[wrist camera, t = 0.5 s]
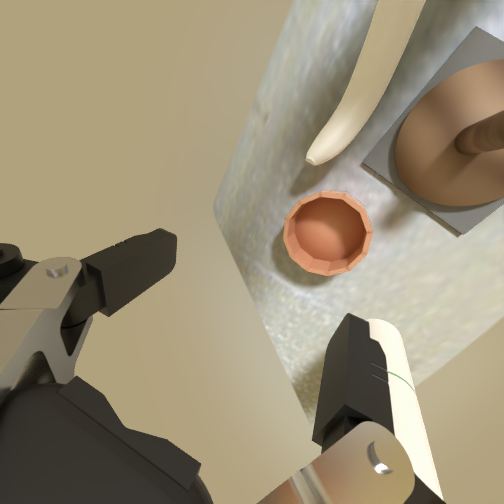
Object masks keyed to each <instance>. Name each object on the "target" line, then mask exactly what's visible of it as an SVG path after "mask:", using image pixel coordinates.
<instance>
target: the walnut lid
mask: <svg viewBox="0 0 504 504" xmlns="http://www.w3.org/2000/svg"><path fill="white" fill-rule="evenodd" d="M395 164H396V168H397V171H398V174H399V176H400V178H401V180H402V181H403V183H404V184H405V185H406V186H407V188H408V189H409V190H411V191H412V192H413V193H414V194H416V195H417V196H419V197H421V198H423V199H425V200H427V201H430V202H433V203H436V204H440V205H446V206H471V205H478V204H483V203H487V202H491V201H494V200H496V199H499V198H502V197H504V59H499V60H492V61H487V62H483V63H479V64H476V65H473V66H470V67H467V68H465V69H463V70H461V71H459V72H456V73H454V74H453V75H451V76H449V77H448V78H446V79H444V80H443V81H441V82H440V83H439V84H437V85H436V86H434V87H433V88H432V89H431V90H430V91H429V92H427V93H426V94H425V95H424V96H423V97H422V98H421V99H420V100H419V102H418V103H417V104H416V105H415V106H414V108H413V109H412V110H411V112H410V113H409V114H408V116H407V117H406V119H405V121H404V122H403V125H402V127H401V129H400V131H399V134H398V137H397V140H396V146H395Z"/></svg>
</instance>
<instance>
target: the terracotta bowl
mask: <svg viewBox="0 0 504 504" xmlns="http://www.w3.org/2000/svg"><path fill="white" fill-rule="evenodd" d="M372 234H373V230H372V226H371V223H370V220H369V217H368V215H367V212H366V209H365V206H364V205H363V204H362V203H361V202H359V201H358V200H357V199H355V198H354V197H353V196H351V195H350V194H349V193H347V192H342V191H332V190H323V191H321V192H318V193H316V194H314V195H311V196H309V197H307V198H305V199H302V200H300V201H298V202H297V204H296V205H295V206H294V208H293V209H292V210H291V212H290V213H289V214H288V216H287V217H286V218H285V225H284V233H283V241H284V243H285V246H286V248H287V251H288V253H289V256H290V258H291V259H293V260H294V261H295V262H296V263H297V264H299V265H300V266H301V267H302V268H303V269H304V270H306V271H308V272H312V273H317V274H321V275H325V276H330V275H334V274H339V273H343V272H347V271H350V270H351V269H352V268H353V267H354V266H356V265H357V264H358V263H359V262H360V261H361V260H362V259H363V258H364V257H365V256H366V255H367V252H368V249H369V245H370V241H371V237H372Z"/></svg>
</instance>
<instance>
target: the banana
mask: <svg viewBox="0 0 504 504" xmlns="http://www.w3.org/2000/svg"><path fill="white" fill-rule="evenodd" d="M425 2H426V0H378V2H377V5H376V9H375V12H374V15H373V18H372V21H371V24H370V27H369V30H368V34H367V36H366V39H365V42H364V45H363V47H362V50H361V53H360V55H359V58H358V61H357V64H356V66H355V69H354V72H353V74H352V77H351V80H350V82H349V85H348V87H347V89H346V91H345V93H344V96H343V98H342V100H341V102H340V103H339V105H338V107H337V109H336V110H335V112H334V113H333V115H332V116H331V118H330V119H329V121H328V122H327V124H326V125H325V126H324V128H323V129H322V130H321V131H320V133H319V134H318V136H317V137H316V139H315V140H314V142H313V144H312V145H311V147H310V148H309V150H308V152H307V155H306V158H305V160H306V161H307V162H308V163H311V164H312V165H320V164H322V163H324V162H326V161H328V160H330V159H332V158H333V157H335V156H336V155H338V154H339V153H340V152H341V151H343V150H344V149H345V148H346V147H347V146H348V145H349V144H350V143H351V141H352V140H353V139H354V138H355V137H356V135H357V134H358V133H359V131H360V130H361V129H362V127H363V126H364V125H365V123H366V122H367V120H368V119H369V118H370V116H371V115H372V113H373V111H374V110H375V108H376V107H377V105H378V103H379V101H380V100H381V98H382V96H383V94H384V92H385V90H386V88H387V86H388V84H389V82H390V80H391V78H392V76H393V74H394V72H395V70H396V68H397V65H398V63H399V61H400V59H401V57H402V54H403V52H404V50H405V48H406V46H407V43H408V41H409V39H410V37H411V34H412V32H413V30H414V27H415V25H416V23H417V20H418V18H419V16H420V13H421V11H422V9H423V6H424V4H425Z"/></svg>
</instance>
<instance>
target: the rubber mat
mask: <svg viewBox="0 0 504 504" xmlns="http://www.w3.org/2000/svg"><path fill="white" fill-rule="evenodd" d="M499 59H504V42H503V41H501V40H499V39H498V38H496V37H494V36H492V35H491V34H489V33H487V32H485V31H484V30H482V29H480V28H478V27H477V26H475V28H474V29H473V30H472V31H471V32H470V34H469V35H468V36H467V37H466V38H465V40H464V41H463V42H462V43H461V44H460V46H459V47H458V48H457V49H456V50H455V52H454V53H453V54H452V55H451V56H450V58H449V59H448V60H447V61H446V62H445V64H444V65H443V66H442V67H441V68H440V70H439V71H438V72H437V73H436V74H435V75H434V77H433V78H432V79H431V80H430V81H429V83H428V84H427V85H426V86H425V87H424V89H423V90H422V91H421V92H420V93H419V95H418V96H417V97H416V98H415V99H414V101H413V102H412V103H411V104H410V105H409V107H408V108H407V109H406V110H405V111H404V113H403V114H402V115H401V116H400V117H399V119H398V120H397V121H396V122H395V123H394V125H393V126H392V127H391V128H390V129H389V131H388V132H387V133H386V134H385V135H384V136H383V138H382V139H381V140H380V141H379V142H378V144H377V145H376V146H375V147H374V148H373V150H372V151H371V152H370V153H369V154H368V156H367V157H366V158H365V159H364V160H363V163H364V164H366V165H367V166H368V167H370V168H371V169H372V170H374V171H375V172H377V173H378V174H379V175H381V176H382V177H384V178H385V179H386V180H388V181H389V182H391V183H392V184H393V185H395V186H396V187H397V188H399V189H400V190H402V191H403V192H404V193H406V194H407V195H409V196H410V197H411V198H413V199H414V200H415V201H417V202H418V203H420V204H421V205H422V206H424V207H425V208H427V209H428V210H429V211H431V212H432V213H434V214H435V215H436V216H438V217H439V218H440V219H442V220H443V221H445V222H446V223H447V224H449V225H450V226H452V227H453V228H454V229H456V230H457V231H459V232H460V233H461V234H463V235H464V234H465V233H467V232H468V231H469V230H471V229H472V228H473V227H474V226H476V225H477V224H478V223H480V222H481V221H482V220H483V219H485V218H486V217H487V216H489V215H490V214H491V213H493V212H494V211H495V210H496V209H498V208H499V207H500V206H502V205H503V204H504V197H502V198H499V199H496V200H494V201H491V202H487V203H483V204H478V205H471V206H446V205H440V204H436V203H433V202H430V201H427V200H425V199H423V198H421V197H419V196H417V195H416V194H414V193H413V192H412V191H411V190H409V189H408V188H407V186H406V185H405V184H404V183H403V181H402V180H401V178H400V176H399V174H398V171H397V168H396V164H395V146H396V140H397V137H398V134H399V131H400V129H401V127H402V125H403V122H404V121H405V119H406V117H407V116H408V114H409V113H410V112H411V110H412V109H413V108H414V106H415V105H416V104H417V103H418V102H419V100H420V99H421V98H422V97H423V96H424V95H425V94H426V93H427V92H429V91H430V90H431V89H432V88H433V87H434V86H436V85H437V84H439V83H440V82H441V81H443V80H444V79H446V78H448V77H449V76H451V75H453V74H454V73H456V72H459V71H461V70H463V69H465V68H467V67H470V66H473V65H476V64H479V63H483V62H487V61H492V60H499Z"/></svg>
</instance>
